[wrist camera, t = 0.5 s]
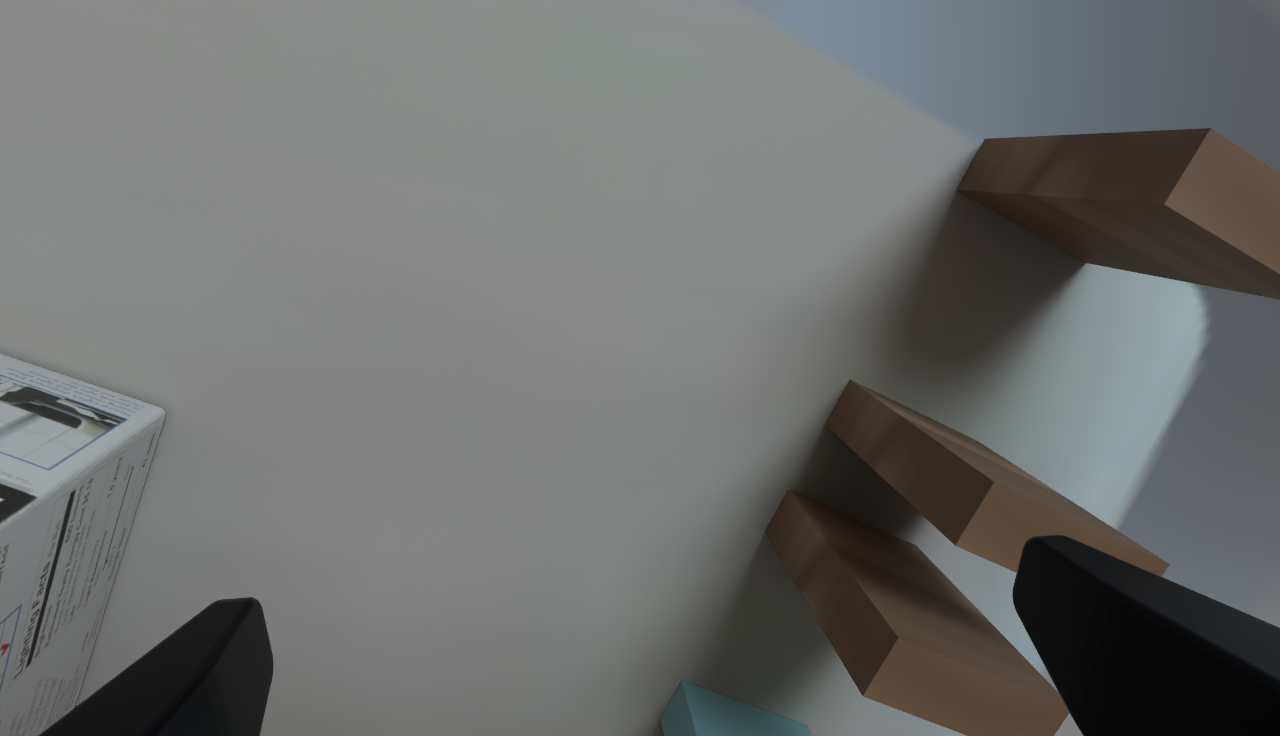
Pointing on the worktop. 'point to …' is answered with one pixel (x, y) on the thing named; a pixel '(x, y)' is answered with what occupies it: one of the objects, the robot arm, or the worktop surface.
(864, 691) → the domino
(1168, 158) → the domino
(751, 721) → the teal domino
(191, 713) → the robot arm
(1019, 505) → the domino
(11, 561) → the light bulb box
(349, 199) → the worktop surface
